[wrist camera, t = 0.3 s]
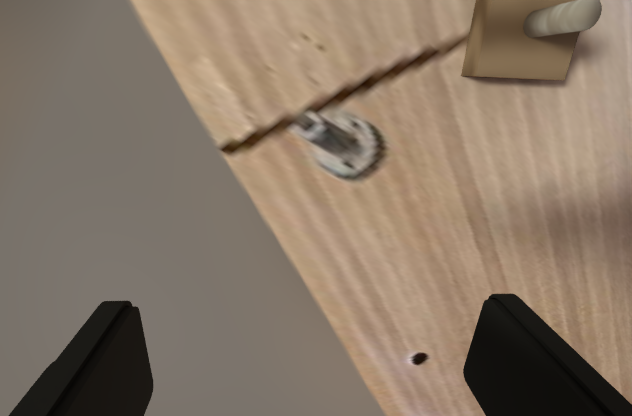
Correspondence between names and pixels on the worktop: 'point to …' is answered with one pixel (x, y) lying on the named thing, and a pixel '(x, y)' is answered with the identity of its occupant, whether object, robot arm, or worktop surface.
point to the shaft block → (526, 37)
